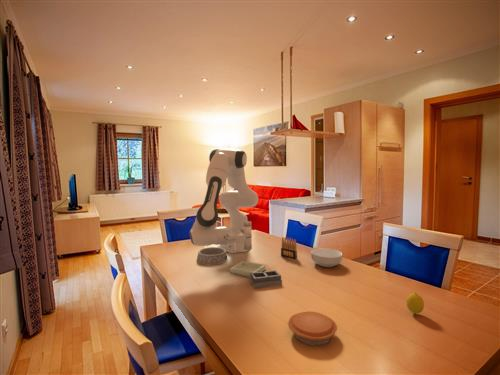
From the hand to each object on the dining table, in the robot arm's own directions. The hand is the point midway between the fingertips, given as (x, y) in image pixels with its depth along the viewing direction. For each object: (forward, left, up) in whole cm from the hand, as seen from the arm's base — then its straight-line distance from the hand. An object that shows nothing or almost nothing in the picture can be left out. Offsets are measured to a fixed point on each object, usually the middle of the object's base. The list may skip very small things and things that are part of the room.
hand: (249, 233), depth 145 cm
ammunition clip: (+9, +30, -20) cm, 38 cm away
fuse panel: (+13, -8, -20) cm, 26 cm away
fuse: (-1, -1, -8) cm, 8 cm away
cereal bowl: (+32, +28, -20) cm, 48 cm away
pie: (+45, -38, -21) cm, 62 cm away
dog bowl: (-30, +6, -21) cm, 37 cm away
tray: (-1, -1, -20) cm, 20 cm away
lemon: (+74, -8, -20) cm, 77 cm away
